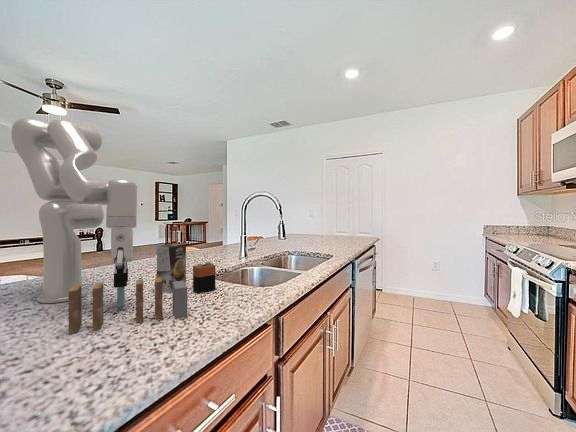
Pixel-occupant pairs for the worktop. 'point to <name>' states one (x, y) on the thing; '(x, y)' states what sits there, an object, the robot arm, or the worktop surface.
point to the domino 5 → (158, 299)
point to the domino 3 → (120, 296)
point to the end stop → (179, 299)
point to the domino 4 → (139, 301)
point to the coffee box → (171, 264)
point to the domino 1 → (75, 309)
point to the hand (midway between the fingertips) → (121, 283)
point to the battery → (204, 277)
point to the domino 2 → (97, 306)
